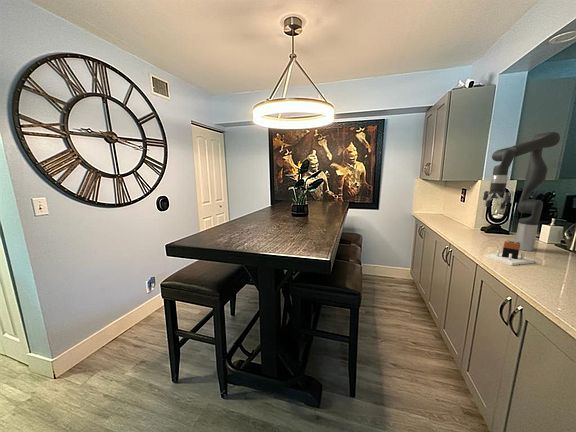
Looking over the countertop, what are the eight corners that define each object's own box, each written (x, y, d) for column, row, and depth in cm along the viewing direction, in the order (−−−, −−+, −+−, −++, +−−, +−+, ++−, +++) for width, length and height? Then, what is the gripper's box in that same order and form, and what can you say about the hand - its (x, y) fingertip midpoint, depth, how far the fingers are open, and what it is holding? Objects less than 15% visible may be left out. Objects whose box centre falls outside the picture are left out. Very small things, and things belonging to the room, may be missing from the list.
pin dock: (507, 254, 150) (508, 246, 149) (534, 262, 137) (536, 254, 136) (485, 257, 146) (486, 249, 145) (511, 265, 132) (513, 256, 131)
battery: (517, 259, 137) (520, 242, 135) (501, 256, 142) (504, 240, 140) (517, 257, 140) (520, 241, 139) (502, 254, 145) (504, 238, 143)
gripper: (516, 182, 146) (511, 209, 148) (491, 182, 159) (487, 206, 162) (507, 182, 144) (502, 209, 147) (482, 182, 157) (478, 206, 160)
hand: (494, 207), depth 154 cm, fingers open, 8 cm apart
